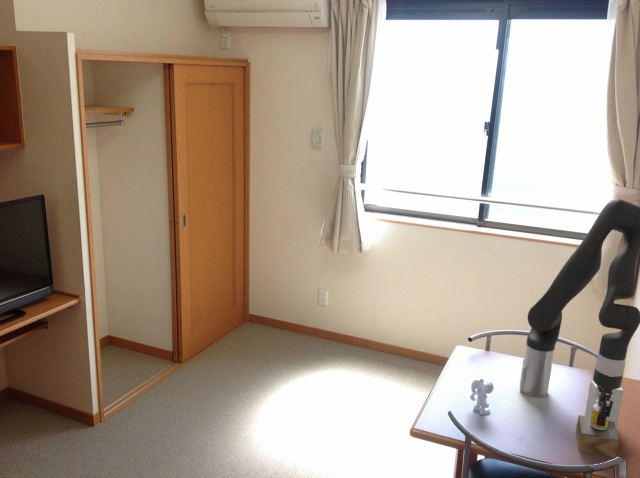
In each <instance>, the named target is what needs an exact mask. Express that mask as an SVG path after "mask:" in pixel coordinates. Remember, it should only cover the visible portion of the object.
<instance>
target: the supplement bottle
mask: <svg viewBox="0 0 640 478" xmlns="http://www.w3.org/2000/svg"><path fill="white" fill-rule="evenodd" d="M600 403H601V404H602V402H600ZM598 411H599V406H598V399H597V402H596V404H595V405H594V406H593V411H592V417H591V422H590V424H591V426H592V427H594V428H596V429H599V430H605V429H607V426H608V421H609V417H606V422H605V426H598V425H597V417H598Z"/></svg>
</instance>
